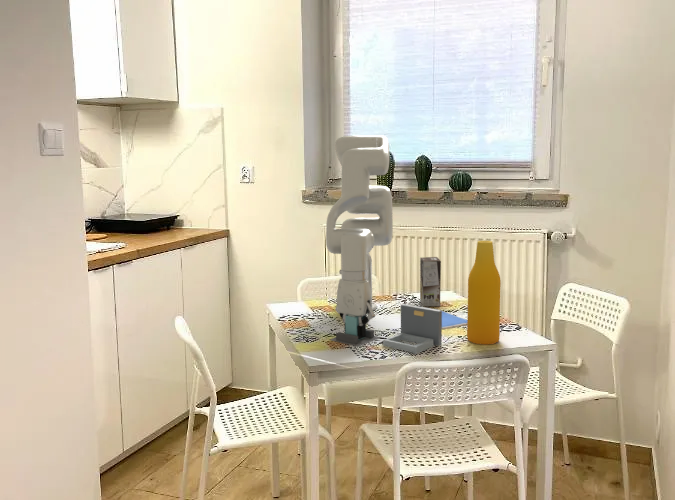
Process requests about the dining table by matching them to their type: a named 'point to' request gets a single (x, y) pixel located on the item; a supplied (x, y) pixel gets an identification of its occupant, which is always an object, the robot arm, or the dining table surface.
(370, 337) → the grey ridged plate
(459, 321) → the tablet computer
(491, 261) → the beer bottle
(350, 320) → the plug
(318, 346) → the dining table surface
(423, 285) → the coffee box
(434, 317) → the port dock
